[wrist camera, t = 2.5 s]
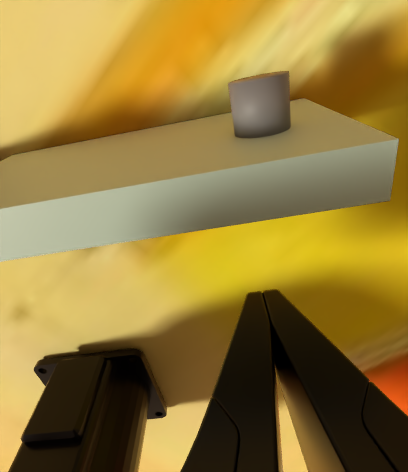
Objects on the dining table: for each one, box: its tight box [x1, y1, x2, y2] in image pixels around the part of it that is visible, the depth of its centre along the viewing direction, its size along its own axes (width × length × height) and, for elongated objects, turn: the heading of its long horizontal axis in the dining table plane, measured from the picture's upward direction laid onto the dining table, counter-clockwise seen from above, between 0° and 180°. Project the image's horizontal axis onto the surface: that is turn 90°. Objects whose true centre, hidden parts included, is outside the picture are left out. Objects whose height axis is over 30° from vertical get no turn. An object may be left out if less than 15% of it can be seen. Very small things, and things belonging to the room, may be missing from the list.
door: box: [0, 71, 399, 262], centre depth 8 cm, size 11×2×6 cm, turn 100°
